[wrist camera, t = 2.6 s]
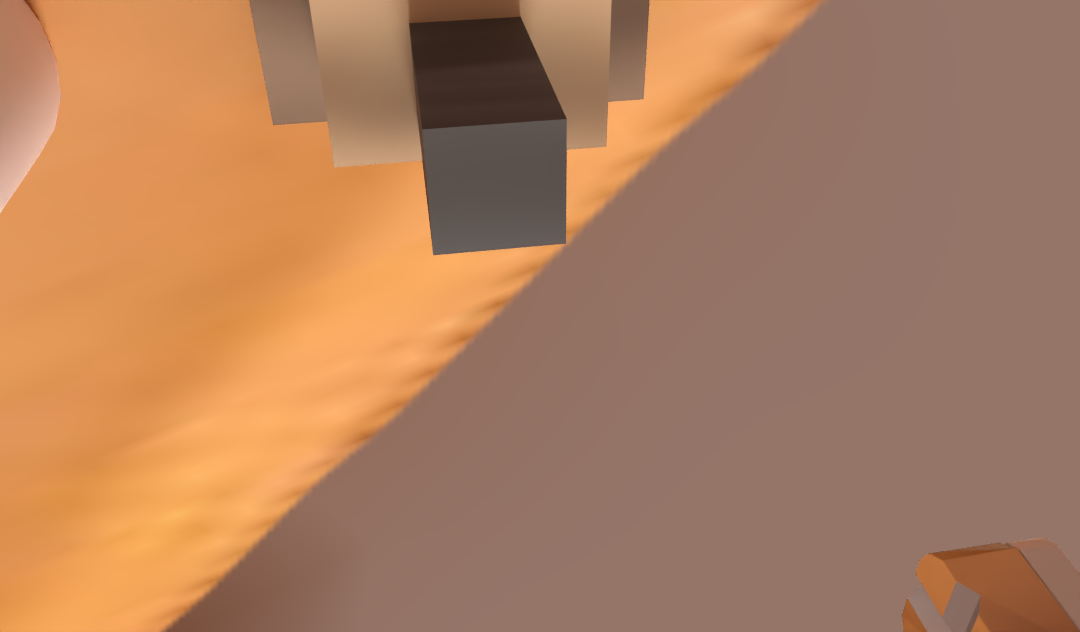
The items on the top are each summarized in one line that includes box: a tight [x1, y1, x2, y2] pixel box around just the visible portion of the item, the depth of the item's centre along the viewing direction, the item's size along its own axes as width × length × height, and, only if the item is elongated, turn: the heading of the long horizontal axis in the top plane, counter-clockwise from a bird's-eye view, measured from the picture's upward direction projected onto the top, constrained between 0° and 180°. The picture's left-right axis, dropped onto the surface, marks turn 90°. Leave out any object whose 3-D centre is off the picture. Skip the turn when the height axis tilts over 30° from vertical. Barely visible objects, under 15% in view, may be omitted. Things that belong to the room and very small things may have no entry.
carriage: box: [309, 0, 612, 255], centre depth 23 cm, size 5×8×9 cm, turn 90°
